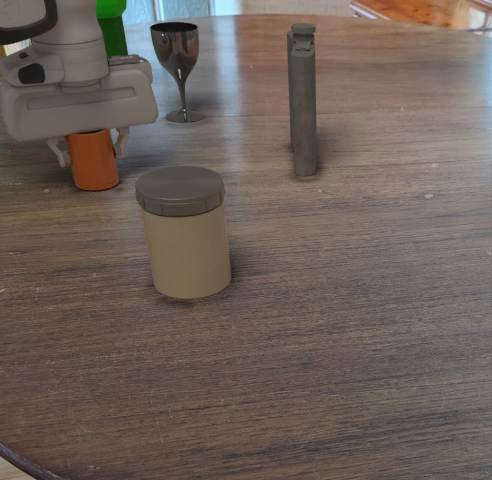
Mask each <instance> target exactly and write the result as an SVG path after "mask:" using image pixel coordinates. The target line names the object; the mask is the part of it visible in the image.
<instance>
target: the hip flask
mask: <svg viewBox="0 0 492 480" xmlns="http://www.w3.org/2000/svg"><path fill="white" fill-rule="evenodd" d="M316 29H317V26H316V25H315V24H313V23H308V22H296V23H292V24H290V30H288V31H287V32H286V51H287V52H286V53H287V54H286V55H287V77H288V79H287V81H288V83H287V84H288V104H289V105H288V106H289V107H288V109H289V133H290V145H291V146H292V148H293V161H294V163H293V164H294V166H293V167H294V174H295V175H296V176H298V177H311V176H314V175H315V174H316V171H317V168H318V167H317V166H318V146H317V145H318V144H317V143H318V142H317V139H318V138H317V137H318V136H317V135H318V134H317V85H316V84H317V81H316V80H317V77H316V73H317V72H316V71H317V70H316V44H315V40H316V39H315V34H314V33H316V32H317V30H316Z"/></svg>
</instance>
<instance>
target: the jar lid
mask: <svg viewBox="0 0 492 480" xmlns="http://www.w3.org/2000/svg"><path fill="white" fill-rule="evenodd" d="M134 188H135V197H136V202H137V203H138V205H139V207H140V206H141V207H142V208H143V209H144V210H146V211H148V212H151V213H155V214H159V215H166V216H187V215H193V214H199V213H203V212H206V211H209V210H211V209H213V208H215V207H217V206H218V205H220V204H221V203H222V201H223V200H224V201H225V194H226V191H225V183H224V179H223V176H222V175H221V174H220V173H218V172H217V171H215V170H212V169H209V168H207V167H201V166H194V165H175V166H174V165H173V166H167V167H166V166H165V167H160V168H157V169H154V170H151V171H148V172H146V173H143V174H142V175H141V176H139V177H138V178H137V180H136V181H135V184H134Z"/></svg>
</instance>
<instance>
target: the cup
mask: <svg viewBox="0 0 492 480" xmlns="http://www.w3.org/2000/svg"><path fill="white" fill-rule="evenodd" d="M111 130H112V129H104V130H101V131H94V132H87V133H80V134H70V135H66V136H63V139H64V144H65V149H66V151H67V152H68V153H69V154H70V157H71V160H70V161H71V162H72V166H69V167H70V171H71V176H72V180H73V183H74V186H75V187H76V188H78V189H80V190H83V191H102V190H107V189H110V188H113V187H115V186H116V185H118V184H119V182H120V177H119V176H120V175H119V169H118V164H117V159H116V158H115V152H114V147H113V144H114V142H113V136H112V131H111Z"/></svg>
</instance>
